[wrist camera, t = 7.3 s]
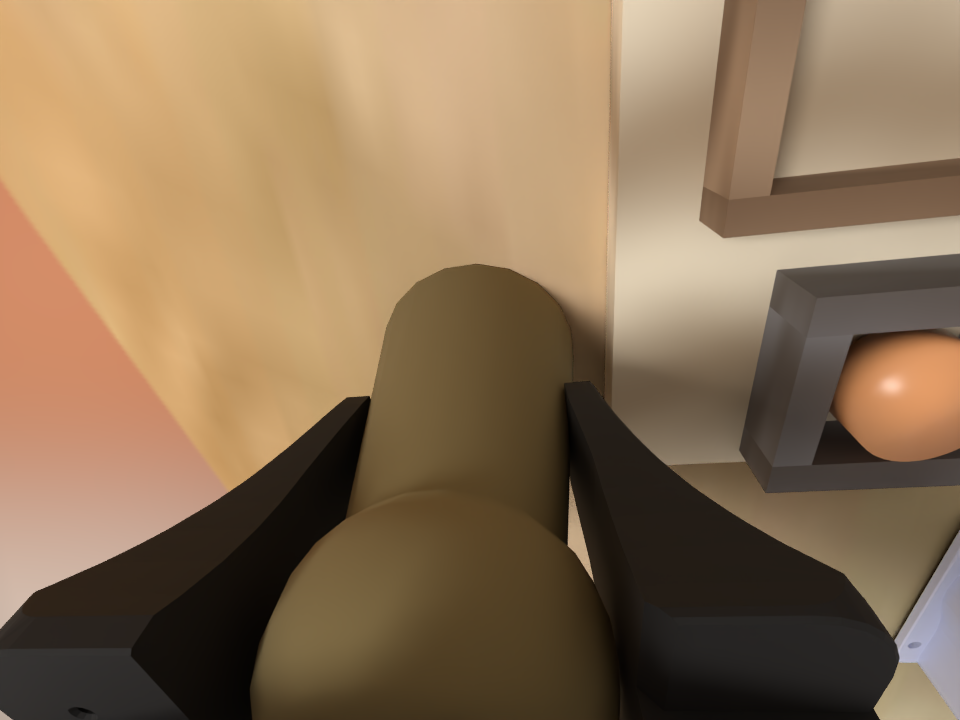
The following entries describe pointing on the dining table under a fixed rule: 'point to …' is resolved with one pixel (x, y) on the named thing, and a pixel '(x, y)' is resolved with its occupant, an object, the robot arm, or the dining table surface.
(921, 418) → the button
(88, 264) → the dining table surface
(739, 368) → the tray
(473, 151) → the dining table surface
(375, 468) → the cork
